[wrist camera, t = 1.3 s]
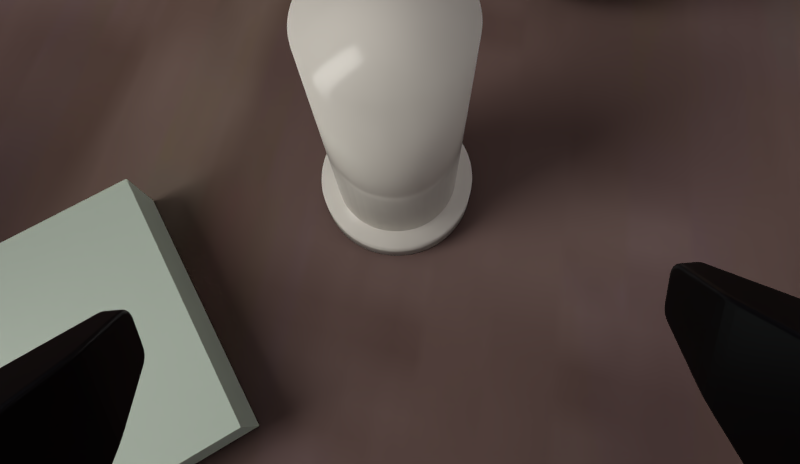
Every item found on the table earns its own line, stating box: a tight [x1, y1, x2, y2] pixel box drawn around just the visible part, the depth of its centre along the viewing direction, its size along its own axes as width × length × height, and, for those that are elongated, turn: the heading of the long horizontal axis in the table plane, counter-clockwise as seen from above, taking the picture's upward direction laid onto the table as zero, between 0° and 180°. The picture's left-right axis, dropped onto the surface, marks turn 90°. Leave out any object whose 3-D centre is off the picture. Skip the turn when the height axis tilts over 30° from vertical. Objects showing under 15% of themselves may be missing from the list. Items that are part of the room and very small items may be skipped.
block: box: [0, 179, 259, 464], centre depth 21 cm, size 11×11×2 cm
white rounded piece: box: [287, 0, 482, 256], centre depth 19 cm, size 6×6×11 cm
